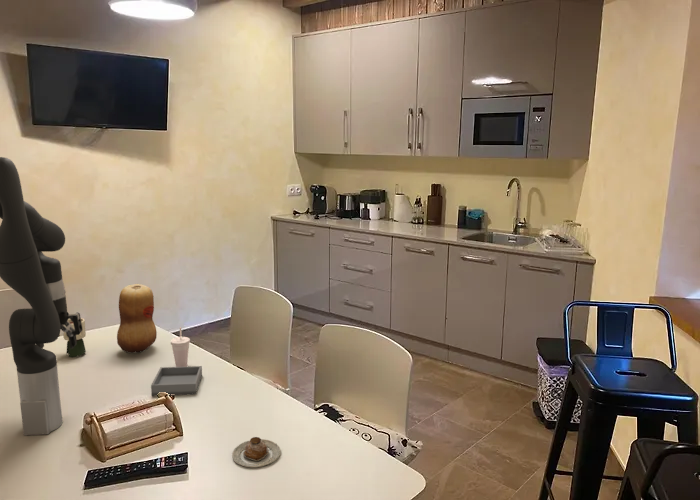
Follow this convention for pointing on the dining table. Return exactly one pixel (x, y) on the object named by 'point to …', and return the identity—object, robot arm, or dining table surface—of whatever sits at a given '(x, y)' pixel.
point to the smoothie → (180, 350)
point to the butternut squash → (136, 318)
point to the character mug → (80, 346)
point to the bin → (177, 380)
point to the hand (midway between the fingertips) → (57, 347)
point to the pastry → (256, 451)
